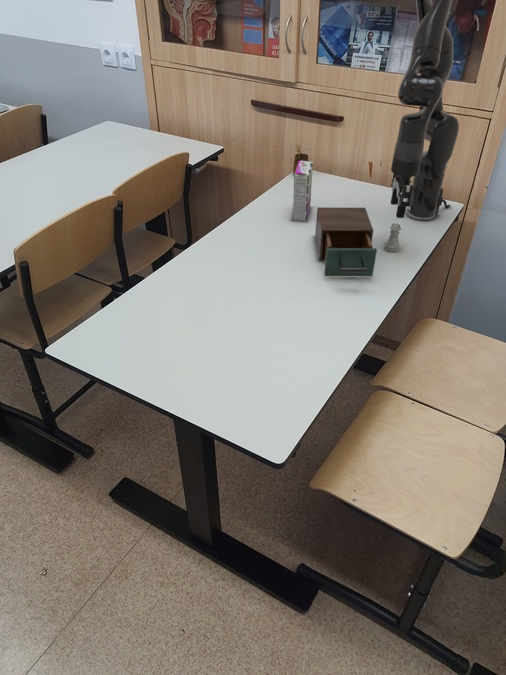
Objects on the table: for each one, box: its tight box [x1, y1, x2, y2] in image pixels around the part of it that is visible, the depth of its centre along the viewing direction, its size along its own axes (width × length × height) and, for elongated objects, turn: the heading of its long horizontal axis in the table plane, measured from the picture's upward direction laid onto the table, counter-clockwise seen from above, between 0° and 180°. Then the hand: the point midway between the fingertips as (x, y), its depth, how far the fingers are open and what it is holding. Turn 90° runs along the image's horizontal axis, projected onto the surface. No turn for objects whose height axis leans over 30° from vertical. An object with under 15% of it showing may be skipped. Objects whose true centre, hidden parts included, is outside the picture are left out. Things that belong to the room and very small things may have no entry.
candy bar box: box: [292, 160, 314, 222], centre depth 176 cm, size 11×5×16 cm, turn 168°
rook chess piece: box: [384, 222, 402, 253], centre depth 161 cm, size 4×4×8 cm
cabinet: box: [314, 207, 374, 262], centre depth 160 cm, size 15×15×10 cm
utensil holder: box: [292, 144, 309, 174], centre depth 205 cm, size 6×6×12 cm
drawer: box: [323, 233, 377, 277], centre depth 150 cm, size 19×13×8 cm
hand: (397, 210), depth 155 cm, fingers open, 8 cm apart
